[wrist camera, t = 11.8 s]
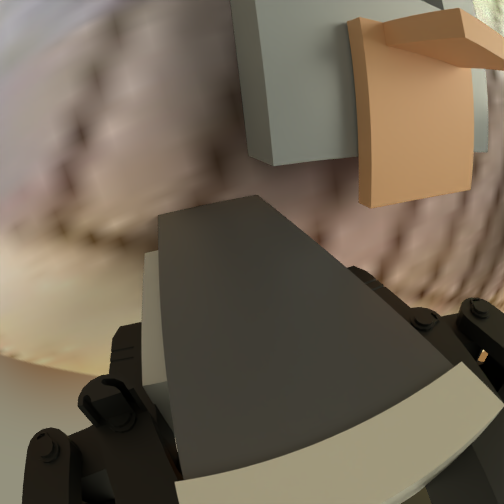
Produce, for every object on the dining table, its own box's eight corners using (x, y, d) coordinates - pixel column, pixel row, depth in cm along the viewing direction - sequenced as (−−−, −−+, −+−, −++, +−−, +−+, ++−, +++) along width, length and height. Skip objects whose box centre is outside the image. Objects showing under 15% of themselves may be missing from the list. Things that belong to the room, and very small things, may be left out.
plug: (259, 192, 13) (504, 405, 3) (267, 280, 15) (414, 494, 5) (155, 213, 12) (195, 563, 2) (178, 302, 14) (246, 565, 4)
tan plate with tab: (457, 53, 9) (528, 57, 5) (459, 185, 13) (525, 213, 9) (346, 21, 8) (437, -5, 4) (358, 202, 11) (442, 247, 7)
